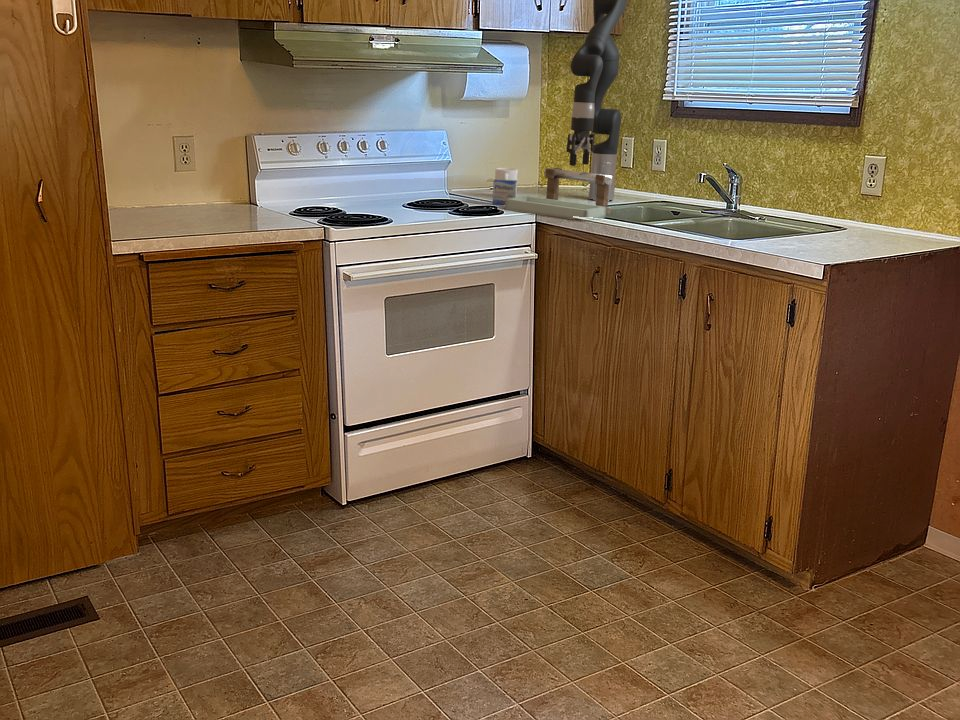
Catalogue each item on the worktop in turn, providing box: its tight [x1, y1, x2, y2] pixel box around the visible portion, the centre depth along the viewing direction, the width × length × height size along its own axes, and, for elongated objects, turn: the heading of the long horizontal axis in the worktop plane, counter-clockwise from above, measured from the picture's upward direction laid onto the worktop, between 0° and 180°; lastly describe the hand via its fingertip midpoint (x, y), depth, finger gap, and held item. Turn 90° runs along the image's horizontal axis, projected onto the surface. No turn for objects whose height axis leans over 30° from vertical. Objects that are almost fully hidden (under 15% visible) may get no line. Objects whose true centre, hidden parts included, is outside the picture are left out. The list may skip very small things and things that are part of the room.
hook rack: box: [544, 167, 612, 215], centre depth 321 cm, size 6×24×13 cm, turn 53°
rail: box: [543, 167, 614, 184], centre depth 319 cm, size 3×26×3 cm, turn 53°
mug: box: [494, 167, 519, 195], centre depth 343 cm, size 12×8×10 cm
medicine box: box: [491, 178, 518, 206], centre depth 326 cm, size 8×4×9 cm, turn 83°
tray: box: [504, 195, 607, 220], centre depth 311 cm, size 13×32×4 cm, turn 54°
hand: (579, 165), depth 318 cm, fingers open, 8 cm apart
